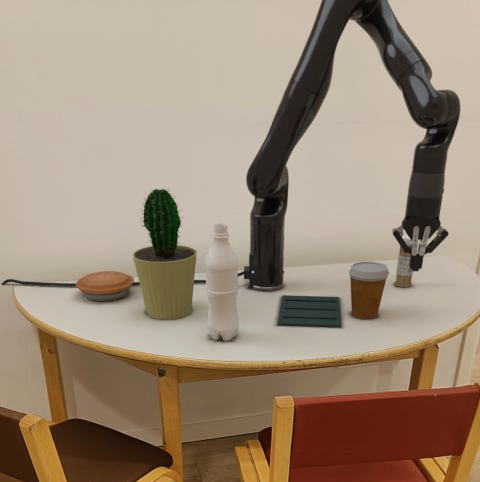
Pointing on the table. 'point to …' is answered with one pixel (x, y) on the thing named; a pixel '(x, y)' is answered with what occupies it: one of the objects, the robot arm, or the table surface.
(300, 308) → the mat
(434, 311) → the table surface
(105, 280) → the pie
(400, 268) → the sprinkles bottle
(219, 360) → the table surface
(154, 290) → the potted cactus
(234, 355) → the table surface
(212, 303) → the water bottle
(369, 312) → the disposable coffee cup
